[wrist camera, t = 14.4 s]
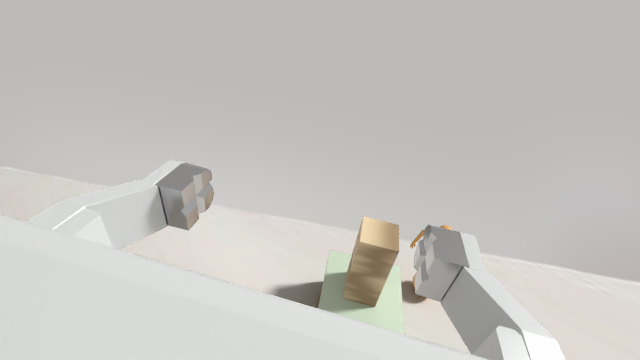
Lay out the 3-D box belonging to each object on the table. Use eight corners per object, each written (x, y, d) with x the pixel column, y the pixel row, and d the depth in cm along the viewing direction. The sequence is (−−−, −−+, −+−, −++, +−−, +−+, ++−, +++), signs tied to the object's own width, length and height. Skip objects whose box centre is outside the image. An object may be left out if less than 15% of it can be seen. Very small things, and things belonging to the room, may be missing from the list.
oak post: (342, 298, 35) (359, 241, 30) (346, 271, 39) (363, 216, 33) (374, 307, 35) (398, 251, 29) (376, 279, 38) (398, 225, 33)
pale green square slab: (313, 333, 35) (317, 315, 33) (326, 268, 44) (330, 250, 41) (394, 353, 35) (404, 337, 32) (392, 283, 43) (400, 266, 41)
